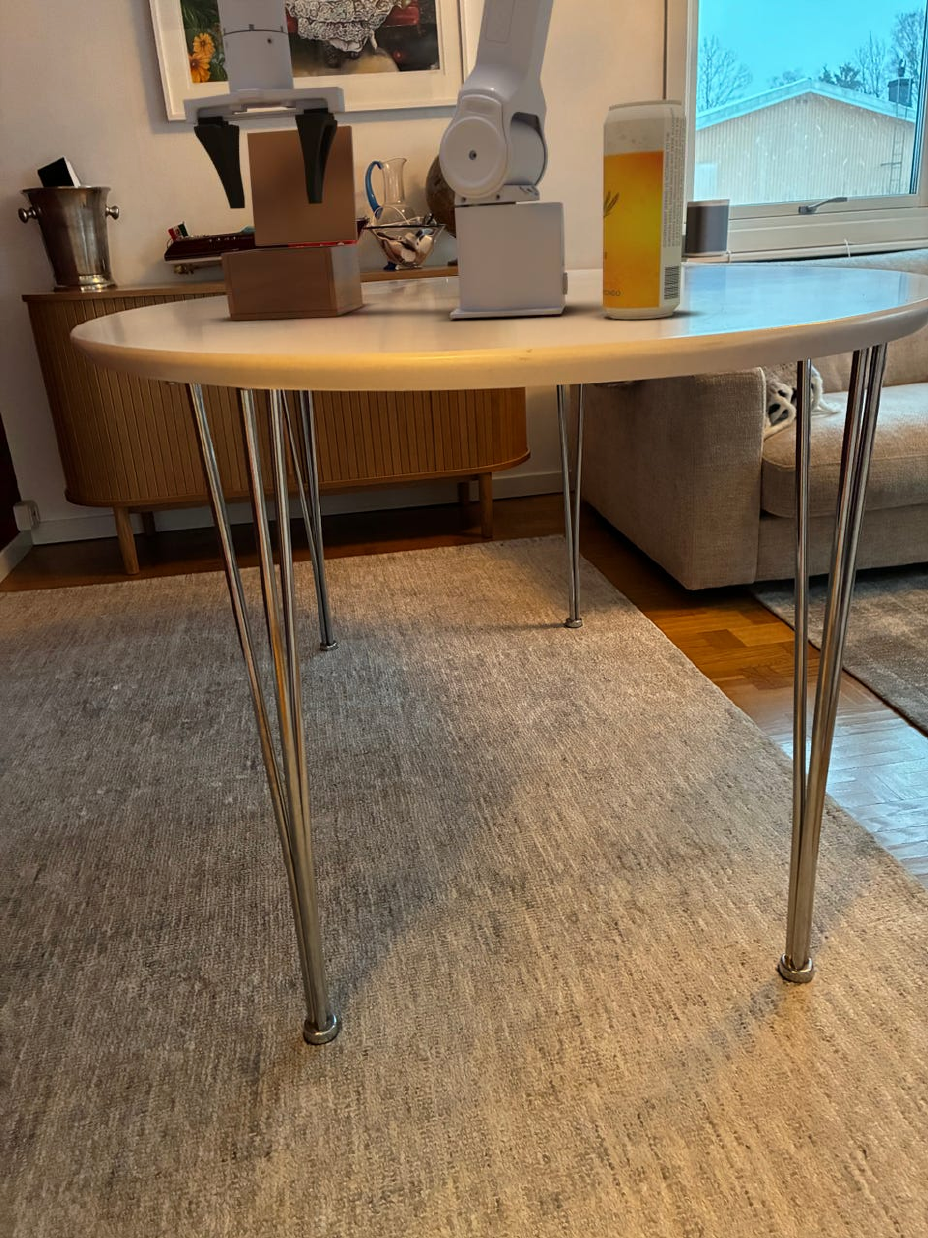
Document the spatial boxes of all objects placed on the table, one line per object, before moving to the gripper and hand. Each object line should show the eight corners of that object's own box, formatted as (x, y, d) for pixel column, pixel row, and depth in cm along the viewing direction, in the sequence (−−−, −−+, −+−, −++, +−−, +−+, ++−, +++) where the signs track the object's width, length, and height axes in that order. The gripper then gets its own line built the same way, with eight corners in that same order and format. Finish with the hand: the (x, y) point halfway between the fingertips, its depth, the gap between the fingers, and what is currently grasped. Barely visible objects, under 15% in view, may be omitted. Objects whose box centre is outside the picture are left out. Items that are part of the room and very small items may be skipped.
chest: (337, 316, 88) (330, 247, 86) (230, 320, 90) (220, 253, 87) (363, 306, 97) (357, 243, 95) (264, 310, 99) (256, 248, 96)
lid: (350, 124, 92) (352, 126, 92) (246, 132, 93) (248, 134, 94) (356, 239, 94) (357, 240, 95) (255, 244, 96) (257, 245, 96)
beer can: (626, 310, 79) (629, 110, 73) (692, 312, 75) (701, 101, 69) (588, 319, 74) (588, 106, 68) (656, 320, 71) (662, 96, 65)
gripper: (158, 36, 79) (185, 210, 84) (321, 20, 77) (338, 201, 82) (193, 49, 85) (216, 210, 91) (344, 35, 83) (359, 201, 88)
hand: (276, 206), depth 87 cm, fingers open, 7 cm apart
